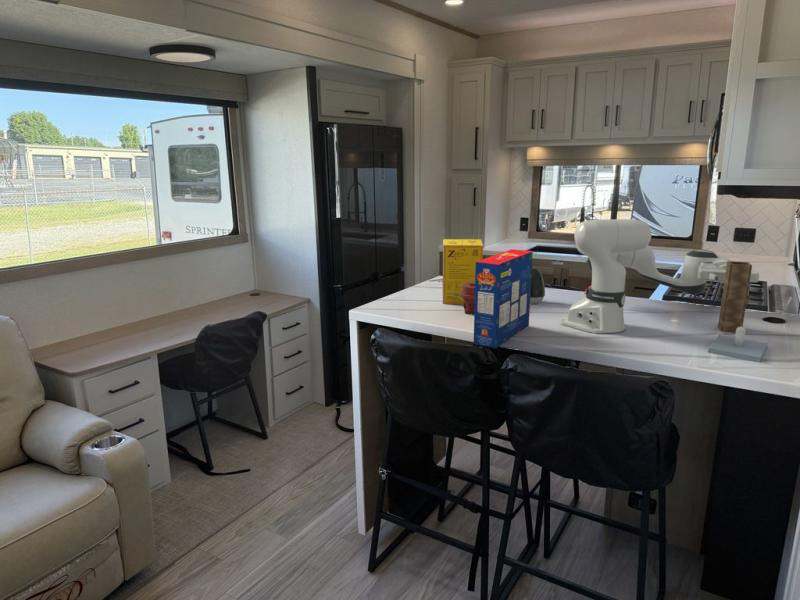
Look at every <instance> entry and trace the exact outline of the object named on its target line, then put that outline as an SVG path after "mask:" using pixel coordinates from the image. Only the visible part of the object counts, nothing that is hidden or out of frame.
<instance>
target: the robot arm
mask: <svg viewBox="0 0 800 600" xmlns="http://www.w3.org/2000/svg"><path fill="white" fill-rule="evenodd" d="M573 236H574V242H575V247H576V249H577V251H578V252H579V253H580V254H582V255H584V256H587V260H586V263H587V266H588V269H589V270H590V272H591V285H590V286H588V288H586V289H585V290H584V294H585V297H583V298H581V299H580V300H578V301H576V302H574V303H573V304H571V305H570V307H569V309H568V312H567V314H566V315H565V316H564V317H562V318H561V319H560V324H561V325H562V326H567V327H569V328H574V329H577V330H582V331H585V332H589V333H593V334H604V333H607V334H608V333H609V334H610V333H621V332H624V331H625V330H626V324H625V319H624V306H625V302H626V290H625V287H626V276H627V271H626V268H629V269H630V268H631V269H633V270H636V271H637V272H638V274H639V276H640V277H642V278H643V279H646V280H647V281H650V282H653V283H657V284H659V285H663V286H664V287H665V286H666V287H668V288H672V289H674V290H678V291H680V292H683V293H684V294H687V295H691V296H697V295H700V294H701V293H703V292H704V291H705V289H706V287H707V285H706V284H707V280H708V281H712V282H716V283H720V284H724V281H725V274H726V267H727V261H732V260H731V259H729V258H728V257H726V256H724V255H718V254H716V253H715V252H714V251H711V250H707V249H700V248H699V249H697V248H696V249H693V250H691V251H689V252H687V253H686V255H685V259H684V261H683V267H682V268H681V273H680V276H679V278H676V277H672V276H670V275H666V274H664V273H661V272H659V270H658V268H657V263H656V257H655V254H654V251H653V249H652V248H651V246H650V245H649V243H650V242H651V240H652V229H651V227H650V225H649V223H647V222H646V221H643V220H639V219H632V218H629V219H628V218H627V219H626V218H625V219H624V218H621V219H619V218H618V219H617V218H616V219H609V218H608V219H606V218H605V219H601V218H600V219H597V218H596V219H589V220H585V221H581V222H580V223H579V224H578V225H577V227H576V228H575V231H574V235H573ZM759 279H760V273H759V272H758V271H756V270H753V269H752V270H751V277H750V283H758V282H759V281H760V280H759Z"/></svg>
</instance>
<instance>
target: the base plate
mask: <svg viewBox="0 0 800 600" xmlns="http://www.w3.org/2000/svg"><path fill="white" fill-rule="evenodd" d="M746 330H747V329H746V328H745V327H738V328H737V329H736V333H735V334H734V337H732V336H728V335H722V334H718V335H717V337H716V338H715V339H714V340H713V342H712V343H711V344H710V345H709V346H708V348H707V349H708V350H707V353H709V354H714V355H721V356H725V357H731V358H736V359H740V358H741V359H740V360H745V359H747V360H746V361H751V360H752V362H756V361H757V362H756V363H760V362H761V361H762V358H763V357H764V354H765V353H766V352H767V349H768V343H767V342H762V341H756V340H749V339H746V338H745V337H746Z"/></svg>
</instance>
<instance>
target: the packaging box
mask: <svg viewBox="0 0 800 600" xmlns="http://www.w3.org/2000/svg"><path fill="white" fill-rule="evenodd" d="M483 252H484V244H483V242H482V239H474V238H473V239H458V238H455V239H450V238H449V239H448V238H447V239H443V243H442V304H443V305H445V304H446V305H449V304H451V305H453V304H454V305H464V299H463V298H461V297H460V292H462V285H463V284H465V283H468V282H475V268H476V262H477V261H480V260H482V259H484V258H483Z"/></svg>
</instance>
